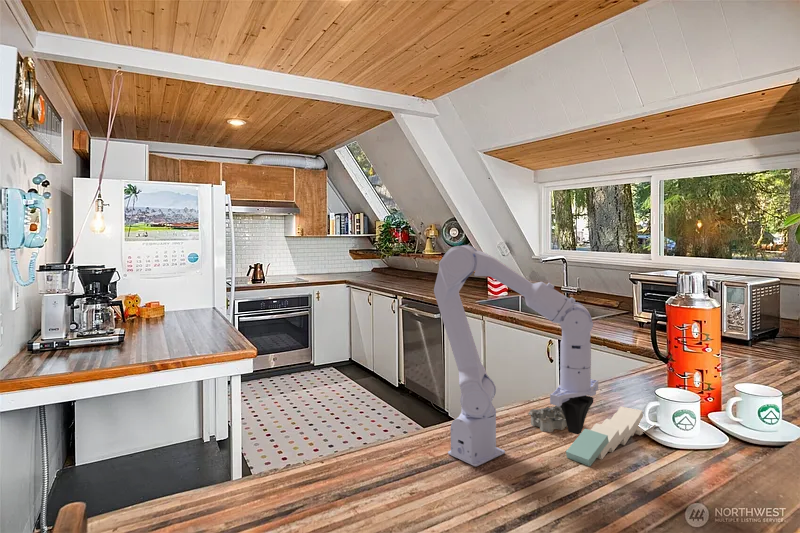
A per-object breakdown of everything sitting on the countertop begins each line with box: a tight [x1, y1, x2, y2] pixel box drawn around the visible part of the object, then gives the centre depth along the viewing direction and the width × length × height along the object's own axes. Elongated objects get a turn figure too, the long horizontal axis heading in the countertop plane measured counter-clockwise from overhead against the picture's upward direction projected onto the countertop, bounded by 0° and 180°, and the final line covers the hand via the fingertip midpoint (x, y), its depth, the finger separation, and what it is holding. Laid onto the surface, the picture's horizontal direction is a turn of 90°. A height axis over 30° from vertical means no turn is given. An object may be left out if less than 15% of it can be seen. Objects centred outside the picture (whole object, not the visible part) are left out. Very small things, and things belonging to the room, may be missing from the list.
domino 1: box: [565, 428, 609, 467], centre depth 100 cm, size 2×5×8 cm
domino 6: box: [634, 426, 644, 436], centre depth 115 cm, size 2×5×8 cm
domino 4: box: [616, 406, 644, 437], centre depth 114 cm, size 2×5×8 cm
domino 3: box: [600, 418, 629, 453], centre depth 106 cm, size 2×5×8 cm
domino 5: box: [609, 412, 639, 446], centre depth 110 cm, size 2×5×8 cm
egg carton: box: [527, 405, 568, 433], centre depth 117 cm, size 11×8×4 cm
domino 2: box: [590, 422, 620, 460], centre depth 103 cm, size 2×5×8 cm
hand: (574, 432), depth 97 cm, fingers closed
